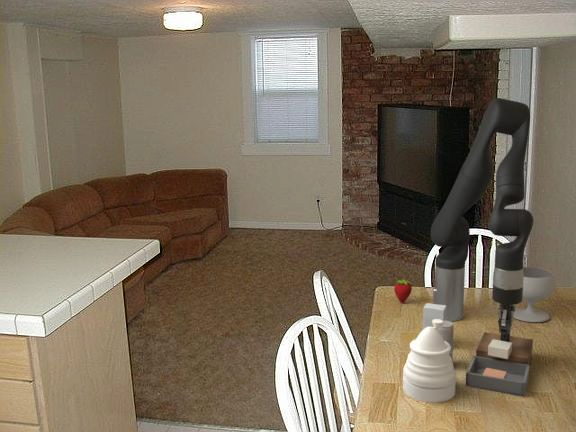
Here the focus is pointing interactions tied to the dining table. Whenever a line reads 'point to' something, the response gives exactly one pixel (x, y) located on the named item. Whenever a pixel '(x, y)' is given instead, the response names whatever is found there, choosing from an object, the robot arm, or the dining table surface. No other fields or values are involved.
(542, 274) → the chalice
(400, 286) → the strawberry
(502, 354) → the tile back
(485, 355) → the wooden grain block
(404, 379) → the honey pot
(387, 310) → the dining table surface
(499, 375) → the tile front
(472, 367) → the box
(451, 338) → the energy drink
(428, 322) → the skincare box
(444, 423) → the dining table surface
